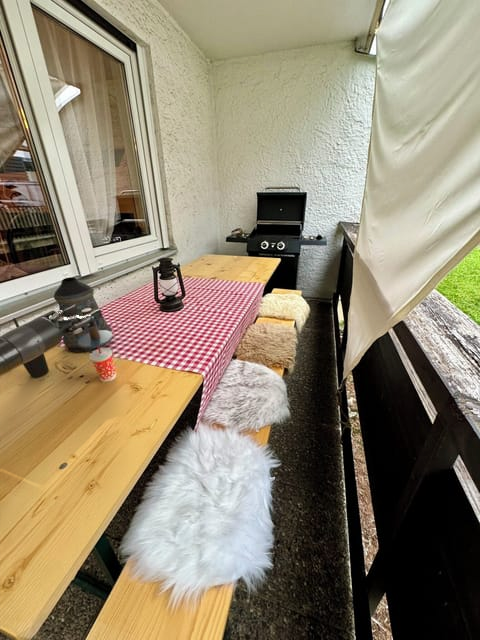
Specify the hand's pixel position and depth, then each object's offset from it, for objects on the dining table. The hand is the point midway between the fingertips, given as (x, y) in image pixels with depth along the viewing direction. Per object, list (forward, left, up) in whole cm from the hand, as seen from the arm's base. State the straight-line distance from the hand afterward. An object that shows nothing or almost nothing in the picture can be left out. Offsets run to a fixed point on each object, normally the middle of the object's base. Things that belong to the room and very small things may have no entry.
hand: (88, 310), depth 71 cm
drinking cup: (-23, -6, -23) cm, 33 cm away
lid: (0, -1, -9) cm, 9 cm away
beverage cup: (0, -1, -23) cm, 23 cm away
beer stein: (-24, +14, -23) cm, 36 cm away
